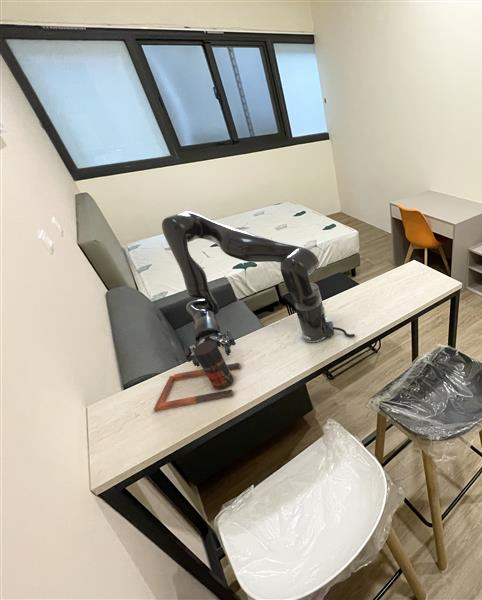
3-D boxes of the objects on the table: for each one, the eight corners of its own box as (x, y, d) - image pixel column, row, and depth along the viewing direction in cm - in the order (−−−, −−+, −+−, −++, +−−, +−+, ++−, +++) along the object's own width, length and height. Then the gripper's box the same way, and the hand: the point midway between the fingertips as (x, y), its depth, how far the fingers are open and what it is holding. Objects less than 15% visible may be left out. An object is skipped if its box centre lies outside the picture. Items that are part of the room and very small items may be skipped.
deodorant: (209, 385, 101) (189, 350, 93) (226, 372, 105) (209, 338, 97) (220, 393, 98) (200, 357, 90) (237, 380, 102) (220, 345, 94)
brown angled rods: (240, 365, 108) (239, 362, 107) (232, 396, 97) (230, 393, 96) (171, 378, 104) (169, 375, 104) (155, 411, 94) (152, 408, 93)
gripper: (179, 330, 106) (181, 359, 94) (225, 315, 112) (233, 340, 100) (188, 347, 110) (192, 377, 98) (233, 331, 116) (241, 358, 104)
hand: (212, 358), depth 99 cm, fingers open, 8 cm apart
